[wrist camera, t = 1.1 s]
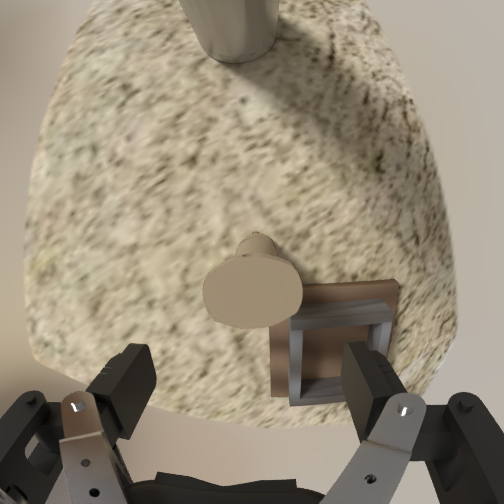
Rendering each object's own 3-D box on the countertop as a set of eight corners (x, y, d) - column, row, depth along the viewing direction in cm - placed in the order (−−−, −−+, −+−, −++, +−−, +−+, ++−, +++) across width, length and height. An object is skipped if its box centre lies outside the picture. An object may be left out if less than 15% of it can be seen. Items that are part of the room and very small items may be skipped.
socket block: (267, 286, 34) (268, 305, 29) (394, 279, 33) (413, 294, 28) (270, 390, 38) (271, 416, 32) (377, 379, 37) (389, 403, 32)
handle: (226, 227, 33) (196, 263, 18) (283, 220, 32) (299, 252, 18) (232, 268, 34) (209, 331, 19) (287, 262, 33) (304, 322, 19)
